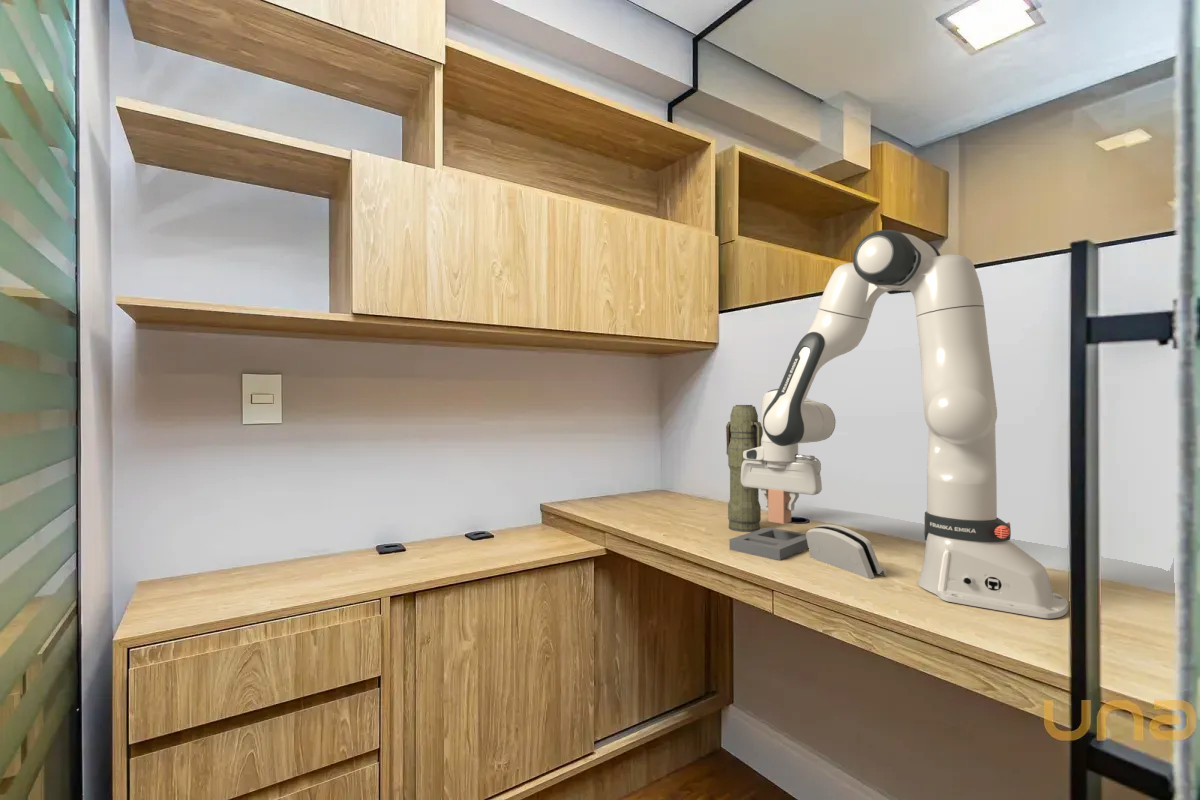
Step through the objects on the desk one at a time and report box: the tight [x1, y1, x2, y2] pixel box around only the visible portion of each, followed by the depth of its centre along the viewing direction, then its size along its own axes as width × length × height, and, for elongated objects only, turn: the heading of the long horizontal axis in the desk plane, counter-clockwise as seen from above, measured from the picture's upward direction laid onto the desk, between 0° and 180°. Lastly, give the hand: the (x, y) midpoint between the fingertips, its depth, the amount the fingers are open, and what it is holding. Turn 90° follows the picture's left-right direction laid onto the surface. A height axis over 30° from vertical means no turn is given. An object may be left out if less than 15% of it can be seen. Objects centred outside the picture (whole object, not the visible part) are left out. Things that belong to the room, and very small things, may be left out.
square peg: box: [767, 489, 792, 525], centre depth 136 cm, size 4×4×8 cm
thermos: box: [725, 404, 763, 533], centre depth 155 cm, size 9×12×35 cm
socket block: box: [729, 526, 809, 561], centre depth 134 cm, size 13×18×2 cm
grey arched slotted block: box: [805, 523, 887, 580], centre depth 118 cm, size 17×5×10 cm, turn 22°
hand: (779, 508), depth 136 cm, fingers closed on square peg, 4 cm apart
